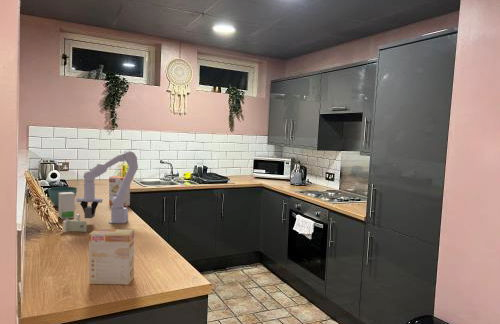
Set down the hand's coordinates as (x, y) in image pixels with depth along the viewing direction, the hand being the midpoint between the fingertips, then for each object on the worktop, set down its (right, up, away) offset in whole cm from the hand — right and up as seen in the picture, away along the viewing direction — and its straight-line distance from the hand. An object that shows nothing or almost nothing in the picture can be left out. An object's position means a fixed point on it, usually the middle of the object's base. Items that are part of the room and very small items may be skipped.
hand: (89, 214), depth 218 cm
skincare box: (-20, -4, +13) cm, 25 cm away
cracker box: (-1, -1, +52) cm, 52 cm away
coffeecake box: (+42, -15, -76) cm, 88 cm away
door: (0, -7, -16) cm, 17 cm away
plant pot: (-38, 0, +44) cm, 59 cm away
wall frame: (-6, -7, -9) cm, 13 cm away
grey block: (0, -2, 0) cm, 2 cm away
